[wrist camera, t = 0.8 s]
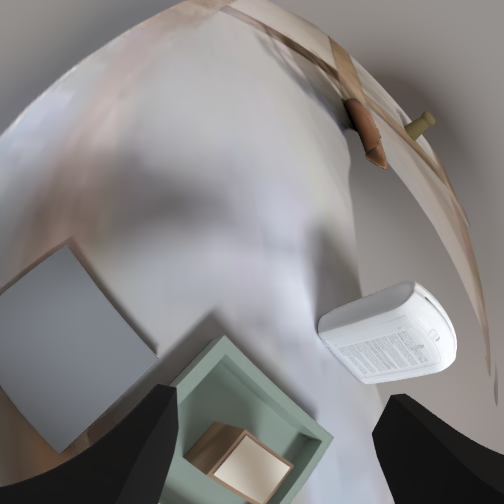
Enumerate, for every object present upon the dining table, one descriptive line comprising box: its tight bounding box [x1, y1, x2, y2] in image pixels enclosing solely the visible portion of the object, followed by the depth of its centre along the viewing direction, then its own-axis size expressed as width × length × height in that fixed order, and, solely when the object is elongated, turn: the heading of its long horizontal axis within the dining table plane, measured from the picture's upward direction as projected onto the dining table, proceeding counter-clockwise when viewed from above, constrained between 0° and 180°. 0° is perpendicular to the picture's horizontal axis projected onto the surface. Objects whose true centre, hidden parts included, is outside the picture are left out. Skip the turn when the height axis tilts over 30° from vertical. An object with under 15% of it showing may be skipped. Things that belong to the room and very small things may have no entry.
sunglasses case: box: [344, 98, 387, 169], centre depth 56 cm, size 18×7×7 cm, turn 1°
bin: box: [158, 335, 334, 504], centre depth 18 cm, size 14×14×2 cm
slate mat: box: [0, 244, 159, 454], centre depth 16 cm, size 11×11×1 cm
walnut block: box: [183, 421, 294, 504], centre depth 16 cm, size 4×5×5 cm
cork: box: [404, 111, 435, 140], centre depth 79 cm, size 6×6×11 cm
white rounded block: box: [318, 280, 457, 384], centre depth 25 cm, size 10×4×12 cm, turn 51°
